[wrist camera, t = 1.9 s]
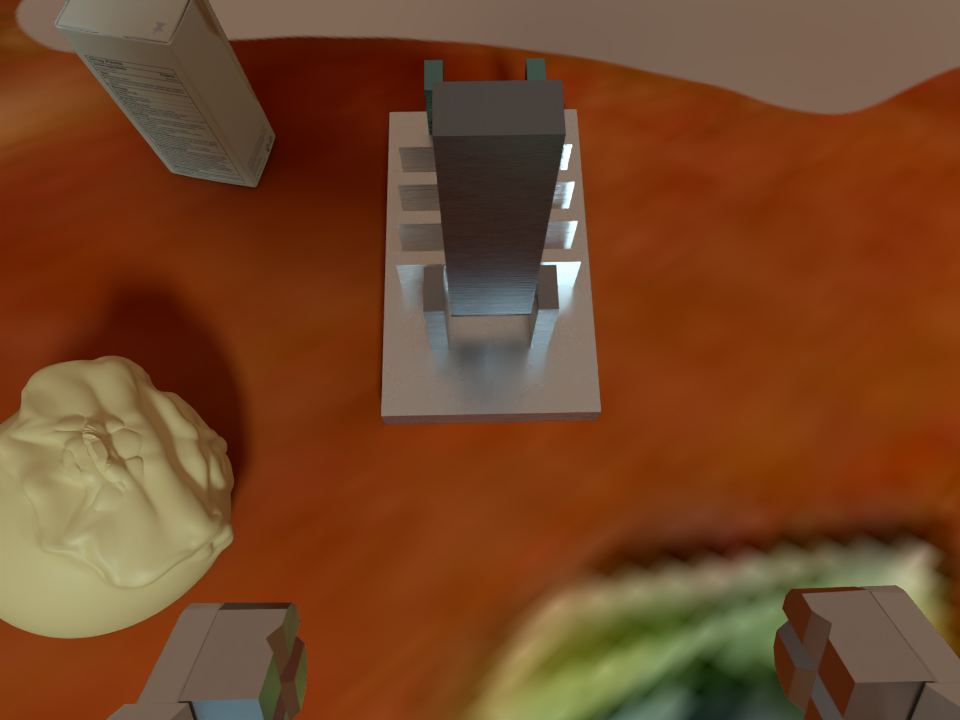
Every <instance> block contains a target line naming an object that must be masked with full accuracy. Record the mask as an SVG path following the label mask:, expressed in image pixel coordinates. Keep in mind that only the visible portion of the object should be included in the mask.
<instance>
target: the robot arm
mask: <svg viewBox="0 0 960 720" xmlns="http://www.w3.org/2000/svg"><path fill="white" fill-rule="evenodd" d="M782 609H783V610H784V612H785V614H786V616H787V618H788V621H787V622H786V623H785V624H784V625H782V626H781V627H780V628H779V629H778V630H777V632H776V637H775V642H774V658H775V667H776V670H777V674H778V677H779V680H780V683H781V685H782V687H783V690H784V692H785V694H786V696H787V698H788V699H789V700H790V701H792V702H793V703H794V704H795V705H797V706H798V707H799V708H800V709H802V710H803V711H804V712H805V716H804V720H960V659H959V658H958V657H957V656H956V654H955V653H954V652H953V651H952V649H951V648H950V647H949V645H948V644H947V643H946V642H945V640H944V639H943V638H942V637H941V635H940V634H939V633H938V632H937V630H936V629H935V628H934V627H933V625H932V624H931V623H930V622H929V620H928V619H927V618H926V617H925V615H924V614H923V613H922V612H921V610H920V609H919V608H918V607H917V605H916V604H915V603H914V602H913V600H912V599H911V598H910V597H909V595H908V594H907V593H906V592H905V591H904V590H903V589H901V588H899V587H898V586H896V585H893V586H864V587H832V588H805V589H791V590H790V591H789V593H788V594H787V595H786V597H785V600H784V604H783V608H782ZM299 623H300V618H299V614H298V609H297V605H296V604H294V603H191V604H190V605H189V606H188V607H186V608H185V609H184V610H183V611H182V613H181V614H180V616H179V618H178V620H177V622H176V624H175V626H174V628H173V630H172V632H171V634H170V636H169V638H168V640H167V642H166V644H165V646H164V648H163V650H162V652H161V654H160V656H159V658H158V660H157V662H156V664H155V666H154V668H153V670H152V672H151V674H150V676H149V678H148V680H147V682H146V684H145V686H144V688H143V690H142V692H141V694H140V696H139V698H138V700H137V702H136V704H127V705H124V706H122V707H121V708H120V709H119V710H117V711H116V712H115V713H114V714H112V715H111V716H110V717H109V718H107V719H106V720H292V719H293V718H294V717H295V716H296V715H297V714H298V713H299V712H300V711H301V707H302V703H303V698H304V694H305V686H306V677H307V655H306V649H305V643H304V642H303V641H302V640H301V639H299V638H298V637H297V636H296V634H297V631H298V627H299Z"/></svg>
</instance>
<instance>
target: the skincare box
mask: <svg viewBox="0 0 960 720" xmlns="http://www.w3.org/2000/svg"><path fill="white" fill-rule="evenodd" d="M54 25H55V27H56V28H57V29H58V31H59V32H60V33H61V34H62V36H63V37H64V38H65V39H66V41H67V42H68V43H69V44H70V46H71V47H72V48H73V50H74V51H75V52H76V53H77V54H78V56H79V57H80V58H81V59H82V61H83V62H84V63H85V65H86V66H87V67H88V68H89V70H90V71H91V72H92V73H93V75H94V76H95V77H96V78H97V80H98V81H99V82H100V84H101V85H102V86H103V87H104V89H105V90H106V91H107V92H108V94H109V95H110V96H111V97H112V99H113V100H114V101H115V102H116V104H117V105H118V106H119V108H120V109H121V110H122V111H123V113H124V114H125V115H126V116H127V118H128V119H129V120H130V121H131V123H132V124H133V125H134V126H135V128H136V129H137V130H138V131H139V133H140V134H141V135H142V136H143V138H144V139H145V140H146V141H147V143H148V144H149V145H150V146H151V148H152V149H153V150H154V151H155V153H156V154H157V155H158V157H159V158H160V159H161V160H162V161H163V163H164V164H165V165H166V167H167V168H168V169H169V170H170V172H172V173H176V174H180V175H185V176H190V177H195V178H201V179H206V180H212V181H217V182H223V183H230V184H236V185H243V186H249V187H256V186H257V185H258V182H259V180H260V177H261V175H262V172H263V170H264V167H265V165H266V162H267V160H268V157H269V155H270V152H271V149H272V146H273V143H274V140H275V134H274V132H273V130H272V128H271V126H270V123H269V121H268V119H267V117H266V115H265V113H264V111H263V109H262V107H261V105H260V103H259V101H258V99H257V97H256V95H255V93H254V91H253V89H252V87H251V85H250V83H249V81H248V79H247V77H246V75H245V73H244V71H243V69H242V67H241V65H240V63H239V61H238V59H237V57H236V55H235V53H234V51H233V49H232V47H231V45H230V43H229V41H228V39H227V37H226V35H225V33H224V31H223V29H222V27H221V25H220V23H219V21H218V19H217V17H216V15H215V13H214V11H213V9H212V7H211V5H210V3H209V1H208V0H67V1H66V3H65V5H64V6H63V8H62V10H61V12H60V14H59V15H58V17H57V19H56V21H55V22H54Z"/></svg>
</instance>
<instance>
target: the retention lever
mask: <svg viewBox="0 0 960 720" xmlns="http://www.w3.org/2000/svg"><path fill="white" fill-rule="evenodd" d="M565 136H566V129H565V115H564V102H563V88H562V80H520V81H455V82H433V89H432V137H433V147H434V157H435V166H436V176H437V186H438V195H439V205H440V215H441V224H442V234H443V244H444V253H445V263H446V273H447V282H448V292H449V302H450V311H451V317H464V316H519V315H531V310H532V305H533V300H534V295H535V290H536V285H537V279H538V274H539V269H540V264H541V259H542V254H543V249H544V244H545V239H546V233H547V228H548V223H549V218H550V213H551V208H552V203H553V198H554V192H555V187H556V182H557V177H558V172H559V167H560V162H561V157H562V152H563V146H564V141H565Z"/></svg>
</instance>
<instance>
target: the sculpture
mask: <svg viewBox="0 0 960 720" xmlns="http://www.w3.org/2000/svg"><path fill="white" fill-rule="evenodd" d="M226 452H227V443H226V441H225V440H224V439H223V438H222V437H220V436H218V435H217V433H216V432H215V431H214V430H212V429H210V428H209V427H208V425H207V424H206V423H205V422H204V421H203V420H202V418H201V417H200V416H199V414H198V413H197V412H196V411H195V410H194V409H193V408H192V407H191V406H190V405H189V404H188V403H187V402H186V401H184V400H183V399H182V398H181V397H180V396H178V395H177V394H175V393H173V392H162V391H159V390H157V389H156V388H155V387H154V385H153V384H152V382H151V379H150V376H149V375H148V374H147V373H146V372H145V371H144V369H143V368H142V367H140V366H139V365H137V364H136V363H134V362H133V361H131V360H129V359H127V358H124V357H120V356H103V357H100V358H97V359H95V360H74V361H67V362H62V363H57V364H53V365H50V366H47V367H45V368H42V369H41V370H39V371H37V372H36V373H35V374H34V375H33V376H32V377H31V378H30V379H29V381H28V383H27V385H26V386H25V388H24V389H23V390H22V404H21V407H20V410H19V411H18V412H16V413H15V414H14V415H12V416H11V417H10V418H8V419H7V420H5V421H4V422H3V423H1V424H0V618H1V619H2V620H4V621H6V622H7V623H9V624H11V625H13V626H15V627H17V628H20V629H22V630H25V631H28V632H31V633H34V634H38V635H42V636H47V637H55V638H84V637H92V636H98V635H103V634H107V633H111V632H114V631H118V630H121V629H124V628H126V627H129V626H132V625H134V624H136V623H139V622H141V621H143V620H145V619H147V618H149V617H151V616H153V615H155V614H156V613H158V612H160V611H161V610H163V609H165V608H166V607H168V606H169V605H171V604H172V603H173V602H175V601H176V600H177V599H179V598H180V597H181V596H182V595H184V594H185V593H186V592H187V591H188V590H189V589H190V588H191V587H192V586H193V585H194V584H195V583H196V582H197V581H198V580H199V579H200V578H201V577H202V576H203V575H204V574H205V573H206V572H207V571H208V569H209V568H210V567H211V566H212V564H213V563H214V561H215V560H216V558H217V557H218V555H219V554H220V552H221V551H222V550H224V549H225V548H226V547H228V546H229V545H230V544H231V542H232V541H233V538H234V533H233V530H232V525H231V524H230V519H231V491H232V489H233V486H234V477H233V472H232V466H231V463H230V460H229V458H228V456H227V455H226Z"/></svg>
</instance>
